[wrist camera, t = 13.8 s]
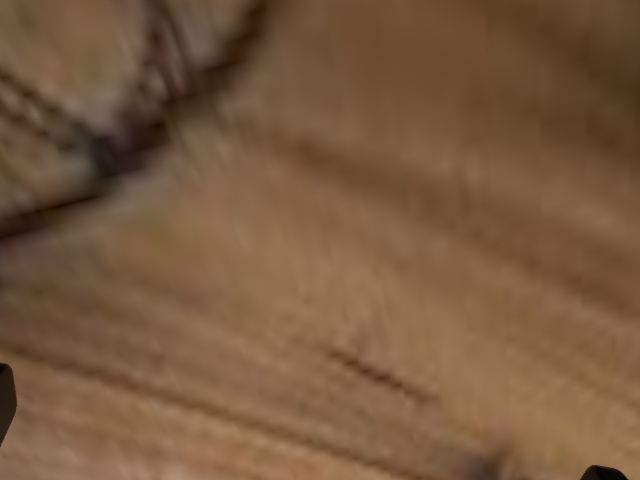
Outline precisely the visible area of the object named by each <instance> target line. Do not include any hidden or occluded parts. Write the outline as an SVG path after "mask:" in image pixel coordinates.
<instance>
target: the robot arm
mask: <svg viewBox="0 0 640 480" xmlns="http://www.w3.org/2000/svg"><path fill="white" fill-rule="evenodd" d="M16 407H17V398H16V391H15V384H14V378H13V372H12V368H11V367H10V366H9V365H7V364H4V363H0V446H1V444H2V442H3V440H4V437H5V435H6V433H7V431H8V429H9V426H10V424H11V422H12V420H13V417H14V415H15V412H16ZM580 480H628V479H627V478H626V476H625V475H624V474H623V473H622V472H620V471H619V470H617V469H615V468H610V467H604V466H598V465H592V466H590V467H588V468H587V470H586V471H585V473H584V474H583V476H582V477H581V479H580Z"/></svg>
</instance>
